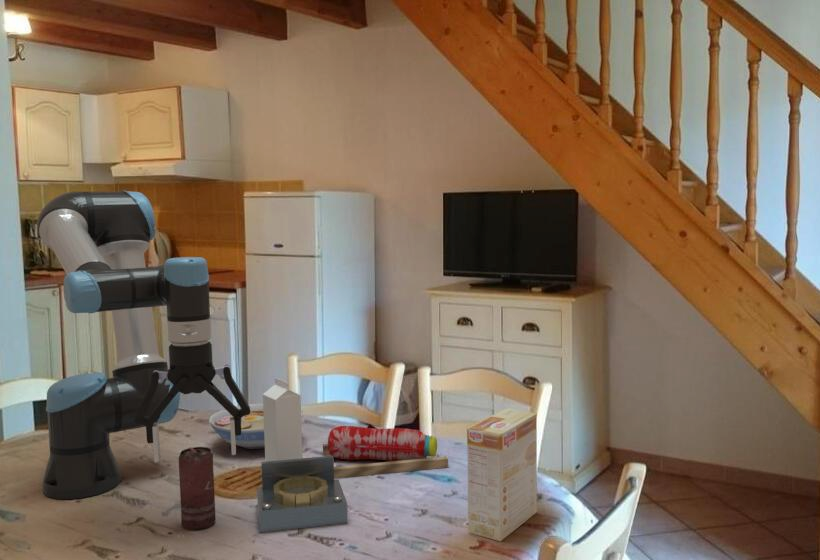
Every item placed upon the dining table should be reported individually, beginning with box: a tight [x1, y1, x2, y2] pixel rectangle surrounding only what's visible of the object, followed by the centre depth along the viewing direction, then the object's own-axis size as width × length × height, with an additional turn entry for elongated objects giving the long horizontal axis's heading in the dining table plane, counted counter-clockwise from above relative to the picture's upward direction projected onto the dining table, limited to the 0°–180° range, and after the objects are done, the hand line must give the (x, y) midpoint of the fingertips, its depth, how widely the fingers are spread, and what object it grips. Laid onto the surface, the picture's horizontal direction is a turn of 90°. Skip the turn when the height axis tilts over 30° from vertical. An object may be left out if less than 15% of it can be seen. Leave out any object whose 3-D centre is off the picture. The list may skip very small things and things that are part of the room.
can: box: [178, 446, 217, 531], centre depth 139 cm, size 6×6×14 cm
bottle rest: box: [322, 434, 449, 479], centre depth 173 cm, size 26×18×2 cm
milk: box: [262, 377, 304, 462], centre depth 160 cm, size 6×6×22 cm
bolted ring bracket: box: [256, 455, 348, 534], centre depth 143 cm, size 16×12×9 cm
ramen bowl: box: [208, 403, 304, 450], centre depth 185 cm, size 25×23×8 cm
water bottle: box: [327, 423, 438, 462], centre depth 174 cm, size 12×8×25 cm
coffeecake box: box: [466, 407, 538, 542], centre depth 137 cm, size 15×7×20 cm, turn 145°
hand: (196, 456), depth 138 cm, fingers open, 13 cm apart
